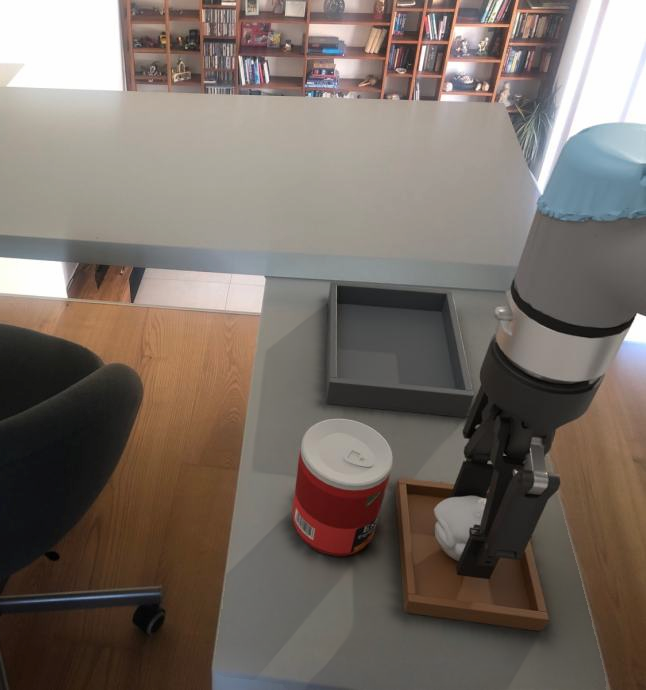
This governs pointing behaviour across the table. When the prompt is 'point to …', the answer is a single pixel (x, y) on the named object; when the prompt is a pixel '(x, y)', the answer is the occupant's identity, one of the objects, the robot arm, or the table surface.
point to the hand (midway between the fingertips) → (467, 539)
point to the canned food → (340, 485)
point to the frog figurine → (457, 522)
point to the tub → (396, 350)
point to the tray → (441, 576)
